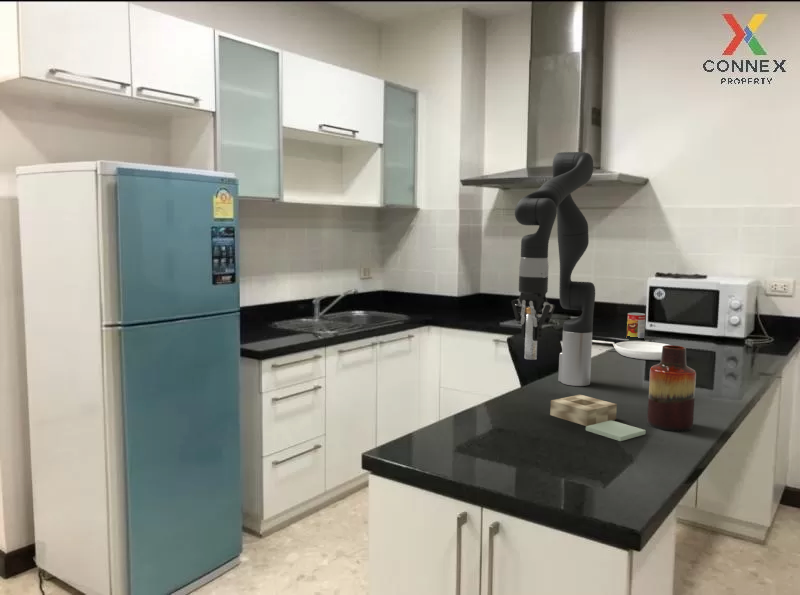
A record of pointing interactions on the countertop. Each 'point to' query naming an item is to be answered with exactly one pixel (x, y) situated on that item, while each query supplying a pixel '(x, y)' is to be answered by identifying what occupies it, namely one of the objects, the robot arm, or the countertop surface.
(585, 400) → the block
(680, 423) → the vase
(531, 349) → the flashlight
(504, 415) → the countertop surface
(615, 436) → the pad
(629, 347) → the pan
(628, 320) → the canned food
